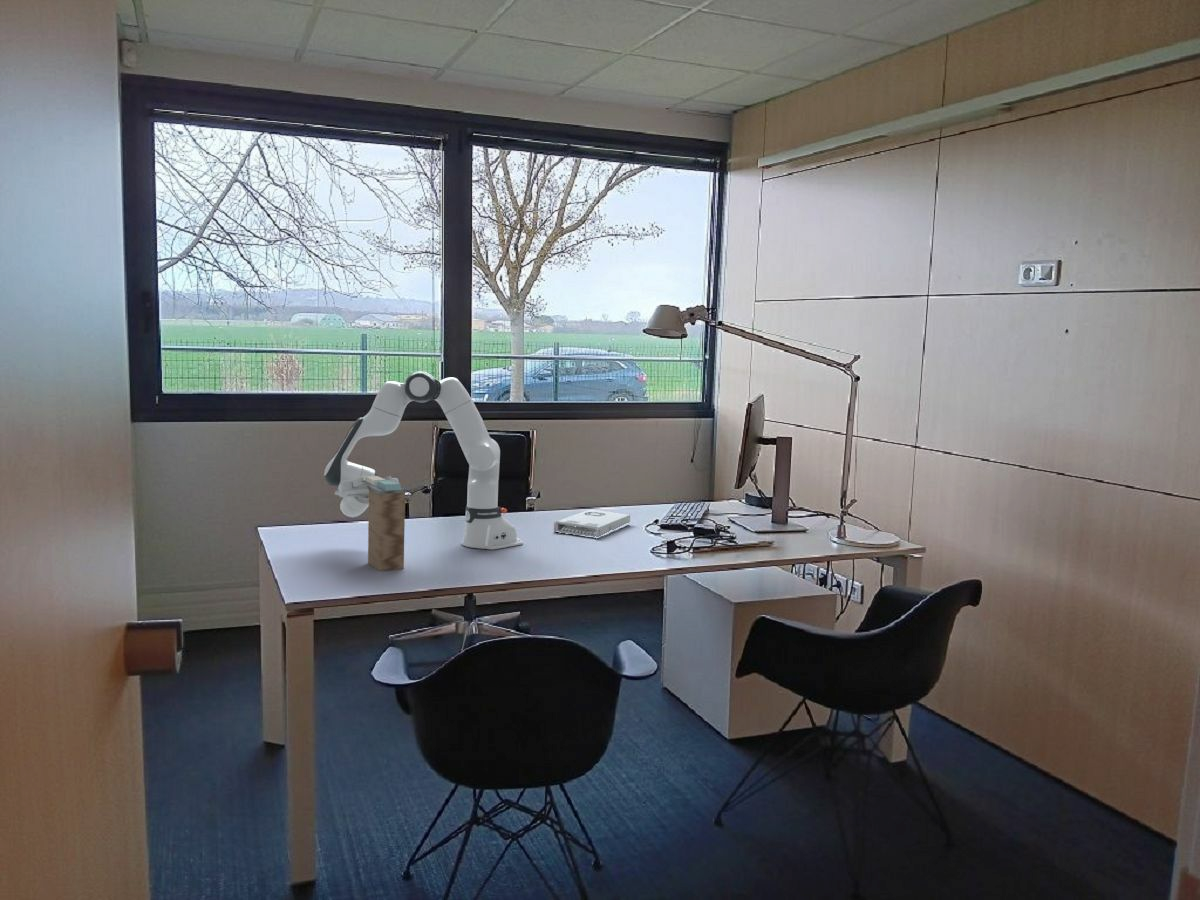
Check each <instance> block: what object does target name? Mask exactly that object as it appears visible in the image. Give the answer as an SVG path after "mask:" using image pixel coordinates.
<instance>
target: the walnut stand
mask: <svg viewBox="0 0 1200 900" xmlns="http://www.w3.org/2000/svg"><path fill="white" fill-rule="evenodd" d="M367 489H369V506H368V523H367V525H368V528H367V529H368V535H367V537H368V538H367V540H368V541H367V544H368V545H367V546H368V547H367V564H368V565H370V566H371V567H373V568H374V569H376V570H378V571H379V572H385V571H392V570H400V569H402V570H403V569H404V567H405V526H406V525H405V524H406V523H405V519H406V516H405V514H406V512H405V511H406V509H405V507H406V493H407V491H408V490H407V489H406V488H405V487H402V486H401V490H390V491H385V490H383V489H381V488H378V487H377V486H376V485H369V486H367Z"/></svg>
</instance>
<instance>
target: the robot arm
mask: <svg viewBox="0 0 1200 900" xmlns="http://www.w3.org/2000/svg"><path fill="white" fill-rule="evenodd" d="M429 401H436V402H437V404H438V405H439V406H440V408H441V410H442V411H443V413H444V415H445V417H446V419H447V421H448V423H449V424H450V426H451V428H452V430H453V432H454V434H455V436H456V439H457V441H458V444H459V446H460V447H461V450H462V452H463V455H464V457H465V459H466V461H467V464H468V465H469V467H468V479H467V492H466V493H467V497H466V498H467V499H466V502H467V503H466V506H465V516H464V517H465V526H464V527H465V529H464V534H463V536H462V537H463V538H462V541H461V545H462V546H464V547H467V548H472V549H486V550H499V549H503V548H509V547H514V546H515V547H516V546H521V545H523V543H524V541H523V540H522V539H520V538H519V537H517V535H518V534H517V529H516V527H515V525H513V524H512V523H511V522H509V521H508V520H507V519H506V518H505V517H503V515H505V514H507V508H504V507H501V506H498V503H499V502H498V501H499V499H498V497H499V479H500V463H501V462H500V460H501V449H500V446H499V443H498V442H497V441H496V440H495V439H493V438H492V437H491V436H490V434H489V432H488V430H487V427H486V425H485V422H484V420H483V418H482V416H481V414H480V412H479V410H478V408H477V407H476V404H475V402H474V401H473V400H472V398H471V396H470V393H469V392H468V391H467V389H466V388H465V386H464V385H463V384H462V382H461V381H460V380H459V379H458V378H457V377H450V376H449V377H445V378H443V379H441V380H439V379H437V378H435V377H434V376H433V374H430V373H429V372H426V371H424V370H423V371H421V370H419V371H414V372H413V373H411V374H410V375H408V376H407V378H406V379H405V382H399V381H395V380H388V381H386V382H384V383H383V384H382V386H380V389H379V391H378V392H377V394H376V396H375V399H374V401H373V403H372V405H371V408H370V410H368V412H367V413H366V415H364V416H363V417H362V416H361V417H358V418H357V419H356V420H355V422H353V424H352V426H351V427H350V428H349V430H348V432H347V433H346V435H345V437H344V438H343V440H342V442H341V443H340V445H339V446H338V448H337V451H335V454H334V455H333V457H332V458H331V460H329V462H328V464H327V465H326V466H325V469H324V472H323V473H324V474H323V477H324V480H325V481H326V483H327V484H328V485H329V486H331V487H335V488H337V490H335V492H334V495H335V496H338V497H340V498H342V499H341V502H340V506H339V507H340V508H339V509H340V511H341V513H343V515H345V516H346V517H349V518H356V517H358V516H360V515H361V514H363V513H365V511H366V510H367V509H369V489H367V486H369V485H373V484H371V483H369V482H367V481H365V476H378V472H377V471H376V470H375V469H374V468H372V467H371V468H370V467H368V466H364V465H360V464H358V463H354V462H352V461H348V457H349V456H350V454H351V453H352V451H353V449H354V447H355V445H356V444H357V442H358V441H359V440H361V439H363V438H365V437H381V436H386V435H387V436H388V435H390V434H392V433H393V432H395V431H396V430H397V429H398V427H399V425H400V422H401V420H402V418H403V415H404V412H405V410H406V408H407V405H408V404H409V403H410V402H416V403H427V402H429ZM378 477H379V476H378ZM384 479H386V480H393V481H396V482H398V483H400V482H399V478H396V477H392V476H391V475H387V476H385V478H384ZM502 514H503V515H502Z"/></svg>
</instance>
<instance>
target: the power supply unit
mask: <svg viewBox="0 0 1200 900" xmlns="http://www.w3.org/2000/svg"><path fill="white" fill-rule="evenodd" d="M629 522H630V523H631V514H626V513H622V512H621V513H620V512H612V511H606V510H599V509H598V510H596V509H588V510H584V511H582V512H579V513H576V514H573V515H570V516H567V517H565V518H562V519H559V520H557V521H554V523H553V533H554V532H556V531H559V532H561V533H568V534H575V535H585V536H593V537H595V536H596V537H599V536H601V535H603V534H605V533H607V532H609V531H610V530H614V529H616V528H618V527H620V526H622V525H624V524H626V523H629ZM576 523H577V524H576ZM597 525H598V526H597ZM575 526H576V527H575Z"/></svg>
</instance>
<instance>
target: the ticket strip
mask: <svg viewBox="0 0 1200 900" xmlns="http://www.w3.org/2000/svg"><path fill="white" fill-rule="evenodd" d="M365 481H367V482H369V483H371V484H373V485H376V486H377V487H378V488H381V489H383V490H385V491H390V490H401V487H402V483H400V482H399V483H398V482H396V481H393V480H386V479H385V478H383V477H380V476H365Z"/></svg>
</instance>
